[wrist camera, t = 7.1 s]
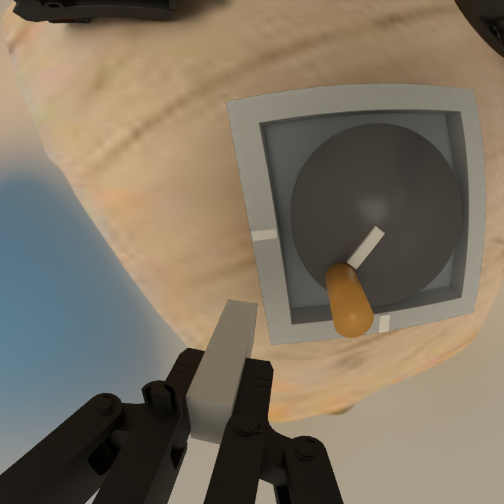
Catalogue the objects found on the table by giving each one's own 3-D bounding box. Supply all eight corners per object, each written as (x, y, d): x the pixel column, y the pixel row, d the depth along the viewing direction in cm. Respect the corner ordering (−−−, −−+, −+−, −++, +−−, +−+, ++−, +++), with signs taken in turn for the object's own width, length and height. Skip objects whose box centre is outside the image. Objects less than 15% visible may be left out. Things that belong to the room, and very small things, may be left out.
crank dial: (355, 91, 18) (388, 59, 10) (471, 200, 19) (531, 225, 11) (257, 232, 23) (237, 275, 15) (381, 317, 24) (406, 379, 16)
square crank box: (448, 96, 18) (474, 89, 14) (454, 291, 25) (474, 313, 20) (237, 110, 22) (225, 101, 18) (275, 317, 28) (271, 346, 24)
